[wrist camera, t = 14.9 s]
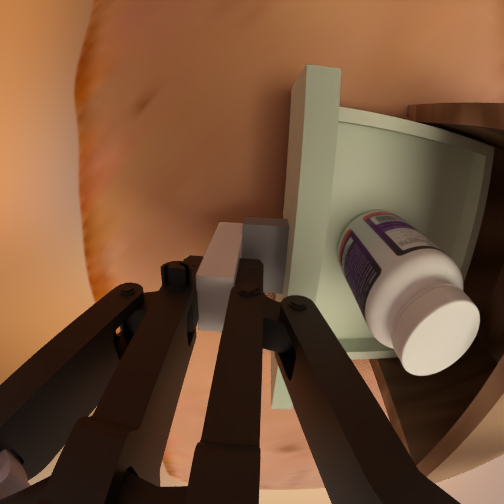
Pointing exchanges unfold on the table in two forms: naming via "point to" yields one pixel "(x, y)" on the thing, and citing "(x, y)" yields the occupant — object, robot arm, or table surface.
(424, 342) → the pill bottle
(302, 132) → the drawer
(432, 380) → the housing
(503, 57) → the table surface
